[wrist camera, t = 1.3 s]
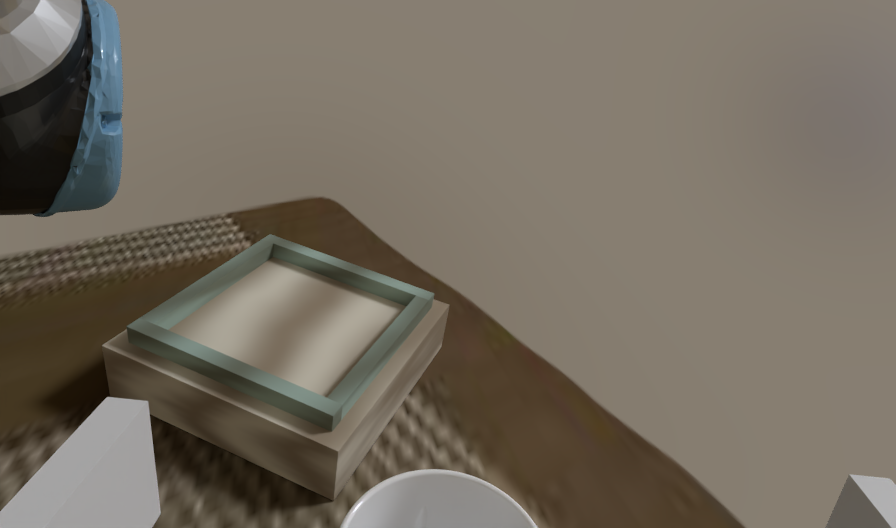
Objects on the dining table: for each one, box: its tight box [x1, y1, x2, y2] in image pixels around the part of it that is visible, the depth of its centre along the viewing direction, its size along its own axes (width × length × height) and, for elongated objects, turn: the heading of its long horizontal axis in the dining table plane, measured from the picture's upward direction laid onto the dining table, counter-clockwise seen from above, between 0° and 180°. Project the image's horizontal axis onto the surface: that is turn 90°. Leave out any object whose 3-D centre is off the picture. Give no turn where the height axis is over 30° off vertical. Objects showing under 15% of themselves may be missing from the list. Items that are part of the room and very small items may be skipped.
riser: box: [102, 234, 449, 501], centre depth 42 cm, size 16×16×5 cm
